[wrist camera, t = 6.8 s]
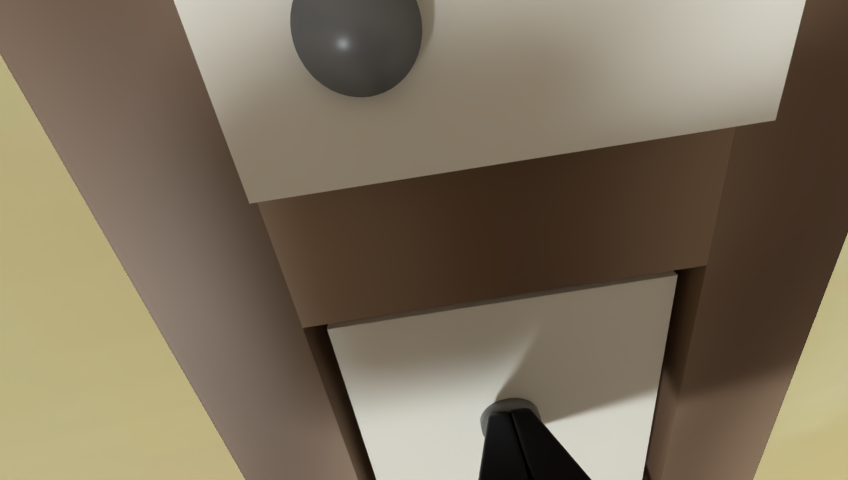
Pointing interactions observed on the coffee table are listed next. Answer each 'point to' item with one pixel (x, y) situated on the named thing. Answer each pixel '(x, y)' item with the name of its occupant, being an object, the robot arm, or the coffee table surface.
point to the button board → (442, 239)
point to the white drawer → (510, 376)
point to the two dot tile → (473, 80)
